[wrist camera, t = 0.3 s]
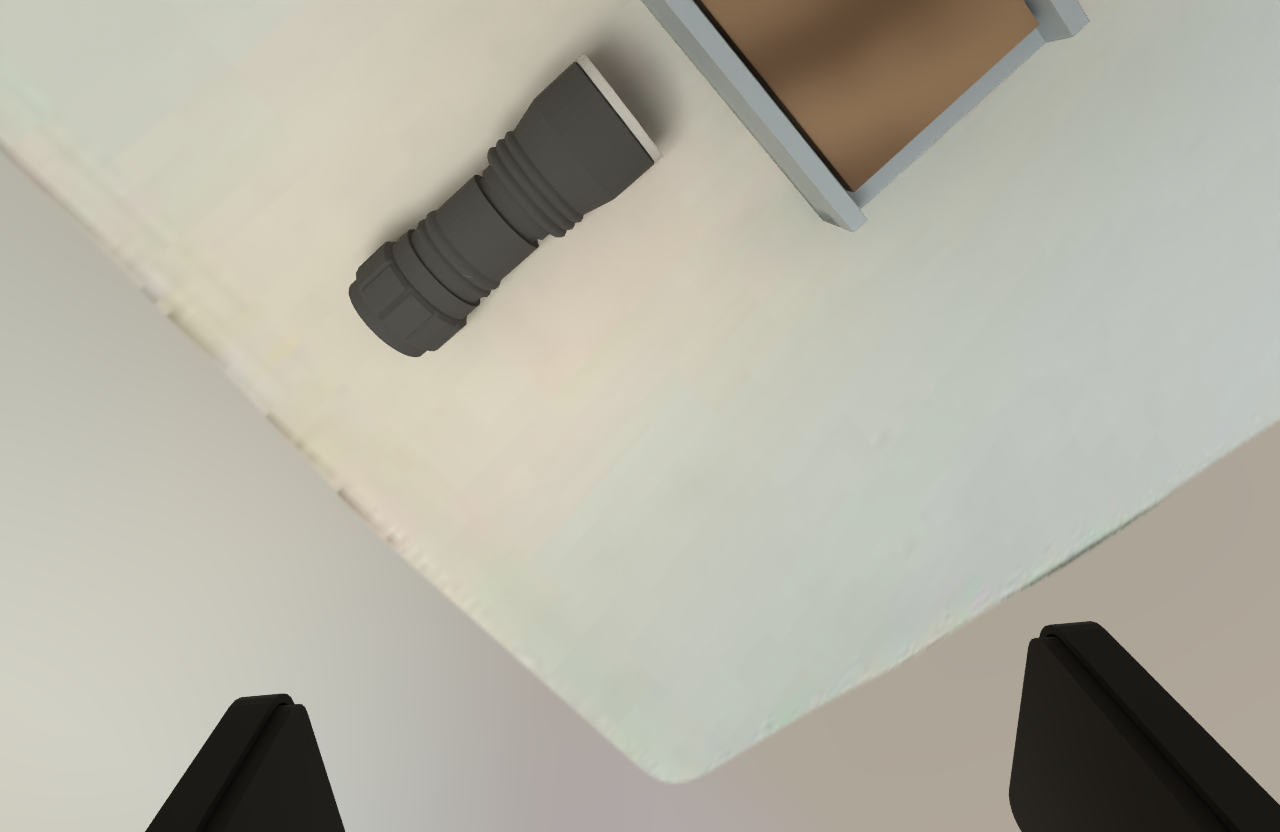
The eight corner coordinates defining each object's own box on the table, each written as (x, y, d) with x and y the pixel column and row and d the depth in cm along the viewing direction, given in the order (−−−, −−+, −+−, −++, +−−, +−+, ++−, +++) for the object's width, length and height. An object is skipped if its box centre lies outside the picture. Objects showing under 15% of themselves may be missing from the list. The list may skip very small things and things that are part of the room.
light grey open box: (630, -13, 33) (633, -38, 28) (841, -241, 30) (883, -311, 25) (822, 220, 37) (853, 232, 32) (1024, 37, 34) (1090, 21, 29)
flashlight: (435, 350, 39) (408, 383, 34) (359, 272, 37) (318, 294, 32) (660, 153, 35) (667, 157, 30) (586, 58, 34) (581, 45, 29)
